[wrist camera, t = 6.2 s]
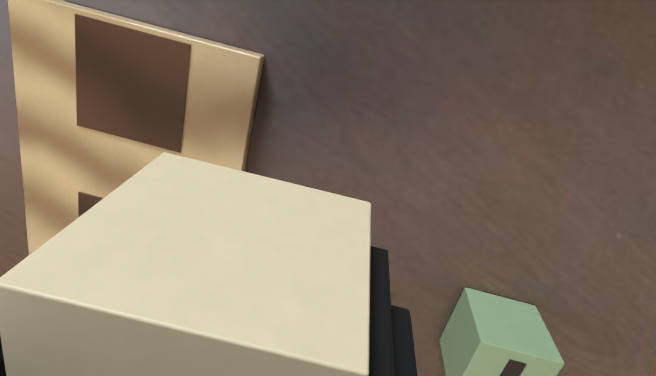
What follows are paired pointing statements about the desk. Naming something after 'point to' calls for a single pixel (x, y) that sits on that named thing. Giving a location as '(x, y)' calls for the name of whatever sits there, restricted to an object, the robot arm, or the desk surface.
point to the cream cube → (196, 281)
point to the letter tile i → (497, 339)
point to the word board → (117, 104)
